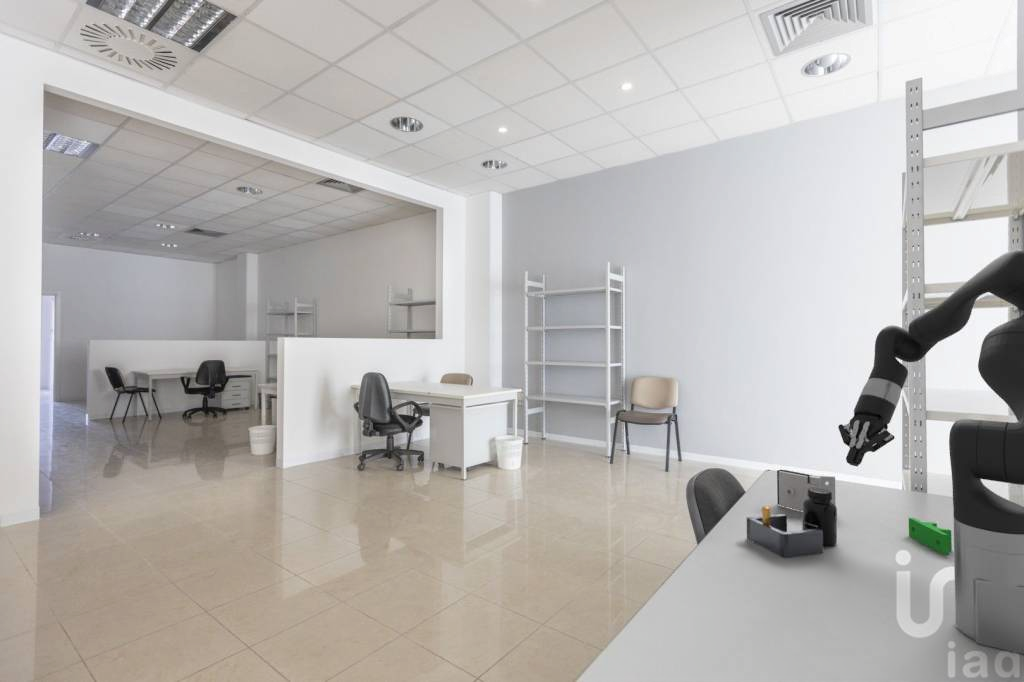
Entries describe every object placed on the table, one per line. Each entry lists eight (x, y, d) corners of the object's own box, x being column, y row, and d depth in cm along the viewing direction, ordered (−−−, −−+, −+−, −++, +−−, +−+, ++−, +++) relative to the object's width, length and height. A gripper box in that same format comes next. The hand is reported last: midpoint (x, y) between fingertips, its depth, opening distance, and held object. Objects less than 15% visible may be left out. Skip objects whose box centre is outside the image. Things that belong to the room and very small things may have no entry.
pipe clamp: (962, 556, 109) (961, 535, 109) (943, 555, 109) (942, 534, 109) (925, 537, 120) (925, 517, 120) (908, 536, 120) (908, 517, 120)
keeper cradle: (783, 534, 121) (782, 497, 121) (823, 553, 110) (822, 511, 110) (746, 538, 118) (745, 500, 119) (783, 558, 107) (782, 515, 108)
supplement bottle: (803, 544, 115) (802, 491, 115) (802, 534, 121) (801, 484, 121) (838, 549, 112) (838, 495, 112) (835, 539, 118) (835, 487, 118)
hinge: (836, 513, 137) (835, 476, 137) (832, 518, 133) (832, 480, 133) (779, 503, 146) (779, 468, 146) (774, 508, 142) (774, 472, 142)
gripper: (916, 411, 118) (889, 477, 115) (861, 406, 130) (836, 465, 127) (896, 395, 116) (868, 462, 113) (842, 391, 129) (816, 451, 125)
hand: (851, 464), depth 120 cm, fingers closed
